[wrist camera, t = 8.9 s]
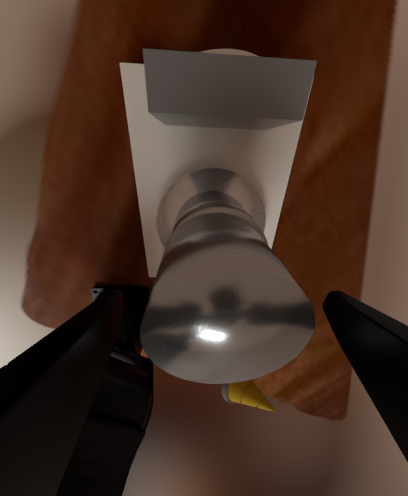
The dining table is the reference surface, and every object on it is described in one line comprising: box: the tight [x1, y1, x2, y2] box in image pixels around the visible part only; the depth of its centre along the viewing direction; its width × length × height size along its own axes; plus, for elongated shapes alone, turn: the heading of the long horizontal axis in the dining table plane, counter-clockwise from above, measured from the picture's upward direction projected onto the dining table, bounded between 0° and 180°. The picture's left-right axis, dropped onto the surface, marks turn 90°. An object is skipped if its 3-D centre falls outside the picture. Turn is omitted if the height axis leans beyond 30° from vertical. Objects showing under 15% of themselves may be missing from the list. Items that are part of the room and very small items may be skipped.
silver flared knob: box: [140, 213, 315, 384], centre depth 9 cm, size 6×6×5 cm
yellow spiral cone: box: [222, 379, 275, 411], centre depth 28 cm, size 5×5×10 cm
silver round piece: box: [172, 191, 268, 244], centre depth 13 cm, size 6×6×5 cm
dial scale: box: [120, 48, 317, 277], centre depth 14 cm, size 12×16×7 cm
